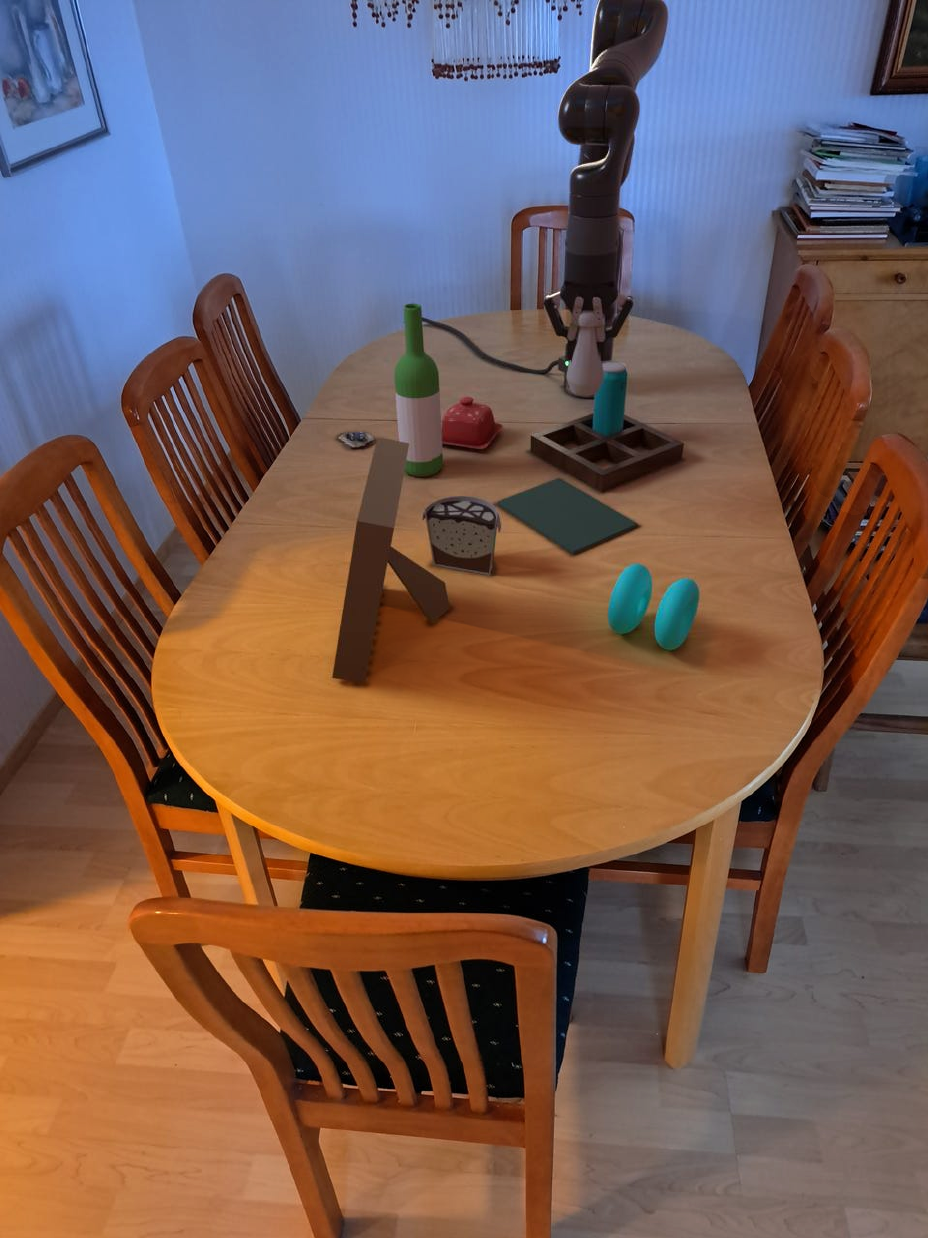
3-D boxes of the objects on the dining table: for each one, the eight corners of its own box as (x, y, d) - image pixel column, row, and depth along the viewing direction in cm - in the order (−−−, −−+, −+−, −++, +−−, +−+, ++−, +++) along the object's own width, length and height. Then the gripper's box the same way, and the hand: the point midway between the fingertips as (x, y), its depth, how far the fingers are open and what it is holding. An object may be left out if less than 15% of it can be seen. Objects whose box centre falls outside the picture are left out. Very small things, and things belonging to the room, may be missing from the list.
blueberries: (358, 452, 172) (357, 443, 171) (328, 442, 176) (327, 433, 175) (381, 439, 177) (380, 430, 176) (351, 429, 181) (350, 420, 179)
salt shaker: (602, 384, 144) (608, 301, 136) (603, 398, 139) (609, 314, 132) (565, 383, 144) (569, 301, 137) (565, 397, 140) (569, 313, 132)
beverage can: (625, 436, 175) (632, 362, 166) (616, 449, 171) (622, 373, 162) (597, 431, 177) (602, 357, 168) (587, 444, 173) (592, 368, 164)
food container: (511, 555, 142) (511, 500, 136) (499, 576, 138) (499, 520, 132) (438, 543, 146) (435, 489, 140) (424, 563, 141) (421, 508, 135)
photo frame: (332, 683, 119) (308, 520, 104) (354, 588, 136) (336, 437, 121) (444, 683, 118) (436, 520, 103) (451, 588, 136) (445, 436, 121)
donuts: (670, 666, 120) (679, 606, 114) (601, 643, 124) (606, 584, 118) (696, 627, 127) (706, 568, 121) (631, 606, 131) (637, 548, 125)
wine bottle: (451, 467, 167) (445, 304, 148) (422, 483, 162) (411, 316, 144) (422, 455, 171) (412, 295, 153) (392, 470, 166) (379, 306, 148)
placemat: (496, 504, 155) (496, 501, 155) (559, 480, 162) (559, 477, 161) (573, 554, 142) (573, 551, 142) (637, 526, 148) (637, 523, 148)
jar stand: (530, 451, 171) (530, 434, 169) (608, 423, 180) (609, 407, 178) (601, 492, 158) (603, 474, 156) (682, 459, 167) (684, 442, 165)
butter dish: (429, 446, 174) (427, 405, 168) (452, 422, 182) (450, 382, 177) (484, 455, 170) (484, 413, 165) (505, 430, 178) (505, 389, 173)
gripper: (641, 239, 131) (631, 355, 141) (544, 238, 133) (541, 352, 143) (641, 253, 125) (630, 373, 135) (540, 251, 127) (537, 370, 137)
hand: (585, 362), depth 139 cm, fingers closed on salt shaker, 3 cm apart
